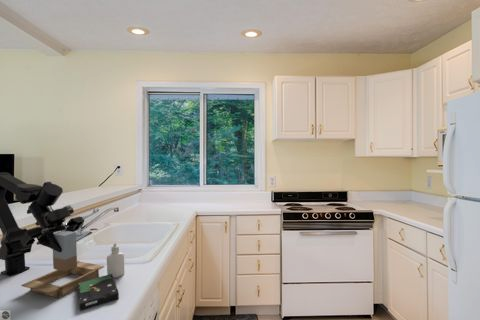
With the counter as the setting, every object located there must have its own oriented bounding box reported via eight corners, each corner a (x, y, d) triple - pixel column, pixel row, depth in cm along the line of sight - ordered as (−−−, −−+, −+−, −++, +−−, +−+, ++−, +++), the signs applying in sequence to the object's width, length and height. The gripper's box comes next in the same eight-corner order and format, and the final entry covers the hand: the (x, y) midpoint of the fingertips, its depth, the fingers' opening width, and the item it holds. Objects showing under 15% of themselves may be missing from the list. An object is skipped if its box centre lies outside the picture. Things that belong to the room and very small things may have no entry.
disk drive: (119, 301, 79) (112, 280, 91) (119, 292, 79) (111, 273, 91) (79, 313, 73) (77, 290, 85) (79, 303, 73) (77, 281, 85)
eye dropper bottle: (111, 273, 96) (109, 241, 96) (126, 272, 96) (125, 240, 96) (105, 278, 92) (104, 245, 91) (121, 278, 92) (120, 245, 91)
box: (53, 268, 88) (52, 234, 87) (65, 263, 92) (63, 230, 91) (65, 271, 86) (64, 235, 85) (77, 266, 89) (75, 232, 89)
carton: (21, 294, 82) (21, 285, 82) (77, 268, 100) (77, 260, 100) (51, 302, 77) (50, 292, 77) (104, 274, 95) (104, 266, 95)
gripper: (24, 204, 80) (49, 243, 77) (80, 195, 98) (102, 226, 94) (9, 227, 84) (33, 266, 80) (66, 214, 101) (87, 245, 97)
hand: (67, 249), depth 88 cm, fingers closed on box, 4 cm apart
